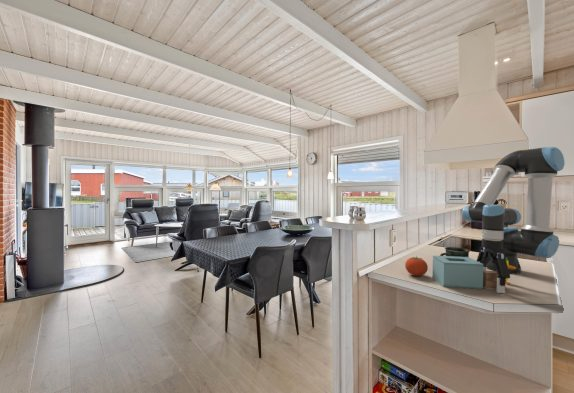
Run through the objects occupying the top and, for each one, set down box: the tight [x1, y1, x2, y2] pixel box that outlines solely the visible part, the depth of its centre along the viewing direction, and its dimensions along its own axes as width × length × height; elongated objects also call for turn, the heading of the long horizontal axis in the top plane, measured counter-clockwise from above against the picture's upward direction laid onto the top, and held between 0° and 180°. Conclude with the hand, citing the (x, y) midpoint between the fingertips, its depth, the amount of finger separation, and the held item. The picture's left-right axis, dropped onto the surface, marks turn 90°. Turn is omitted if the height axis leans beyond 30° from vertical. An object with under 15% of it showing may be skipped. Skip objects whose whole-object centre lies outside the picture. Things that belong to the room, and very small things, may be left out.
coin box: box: [431, 255, 484, 290], centre depth 119 cm, size 16×12×11 cm
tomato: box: [404, 255, 429, 277], centre depth 129 cm, size 10×10×10 cm
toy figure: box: [505, 258, 516, 285], centre depth 119 cm, size 7×4×12 cm, turn 18°
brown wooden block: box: [483, 270, 498, 290], centre depth 114 cm, size 6×3×7 cm, turn 81°
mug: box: [439, 246, 470, 258], centre depth 136 cm, size 11×15×12 cm
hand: (490, 286), depth 114 cm, fingers open, 12 cm apart
